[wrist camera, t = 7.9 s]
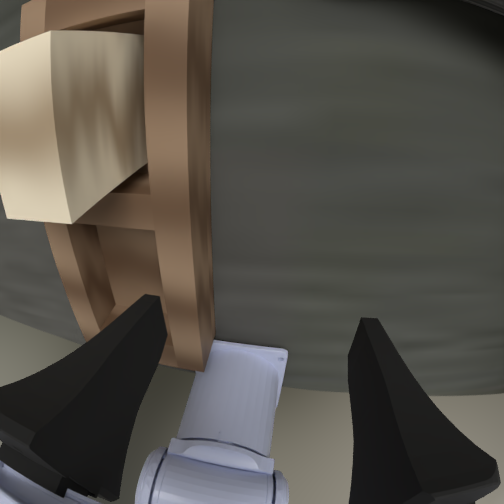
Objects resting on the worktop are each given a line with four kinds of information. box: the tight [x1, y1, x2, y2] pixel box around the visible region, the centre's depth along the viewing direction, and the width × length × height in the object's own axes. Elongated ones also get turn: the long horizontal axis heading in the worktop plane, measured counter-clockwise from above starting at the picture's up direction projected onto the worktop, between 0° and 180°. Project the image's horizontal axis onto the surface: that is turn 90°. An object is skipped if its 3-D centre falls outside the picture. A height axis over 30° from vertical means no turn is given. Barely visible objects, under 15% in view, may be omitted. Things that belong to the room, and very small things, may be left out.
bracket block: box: [0, 30, 148, 224], centre depth 12 cm, size 7×4×8 cm, turn 177°
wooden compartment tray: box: [20, 0, 216, 372], centre depth 17 cm, size 25×10×4 cm, turn 177°
